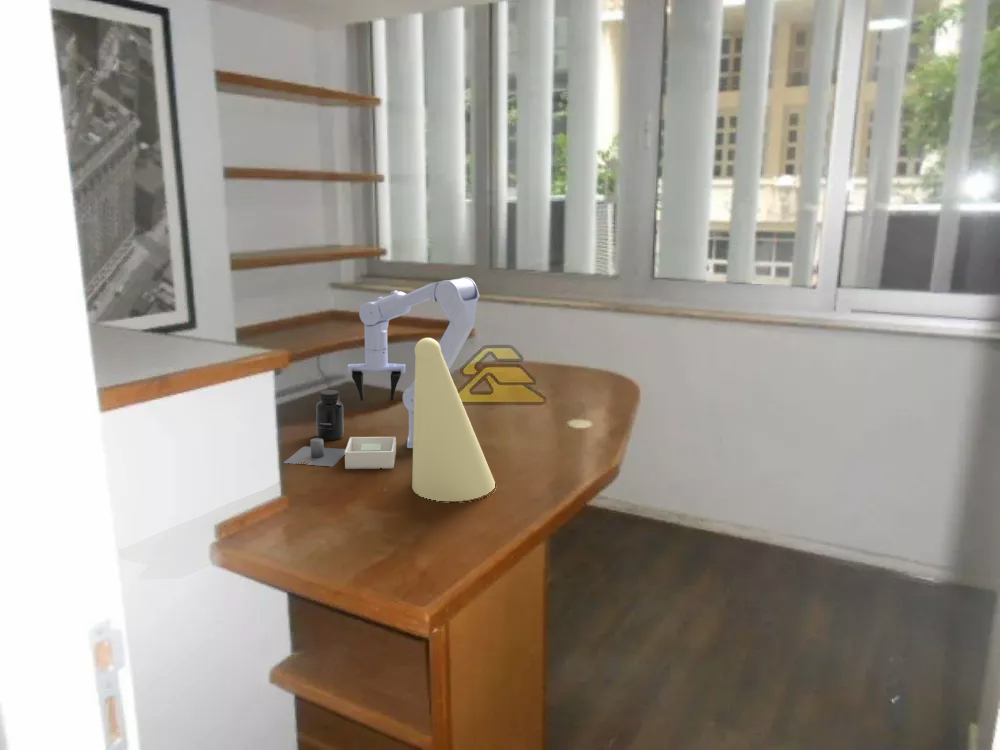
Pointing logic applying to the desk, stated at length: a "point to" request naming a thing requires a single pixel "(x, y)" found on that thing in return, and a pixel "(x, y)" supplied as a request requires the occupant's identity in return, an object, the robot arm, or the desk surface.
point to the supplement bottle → (329, 416)
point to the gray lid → (317, 454)
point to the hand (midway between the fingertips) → (377, 399)
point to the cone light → (444, 435)
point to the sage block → (371, 447)
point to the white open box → (370, 453)
